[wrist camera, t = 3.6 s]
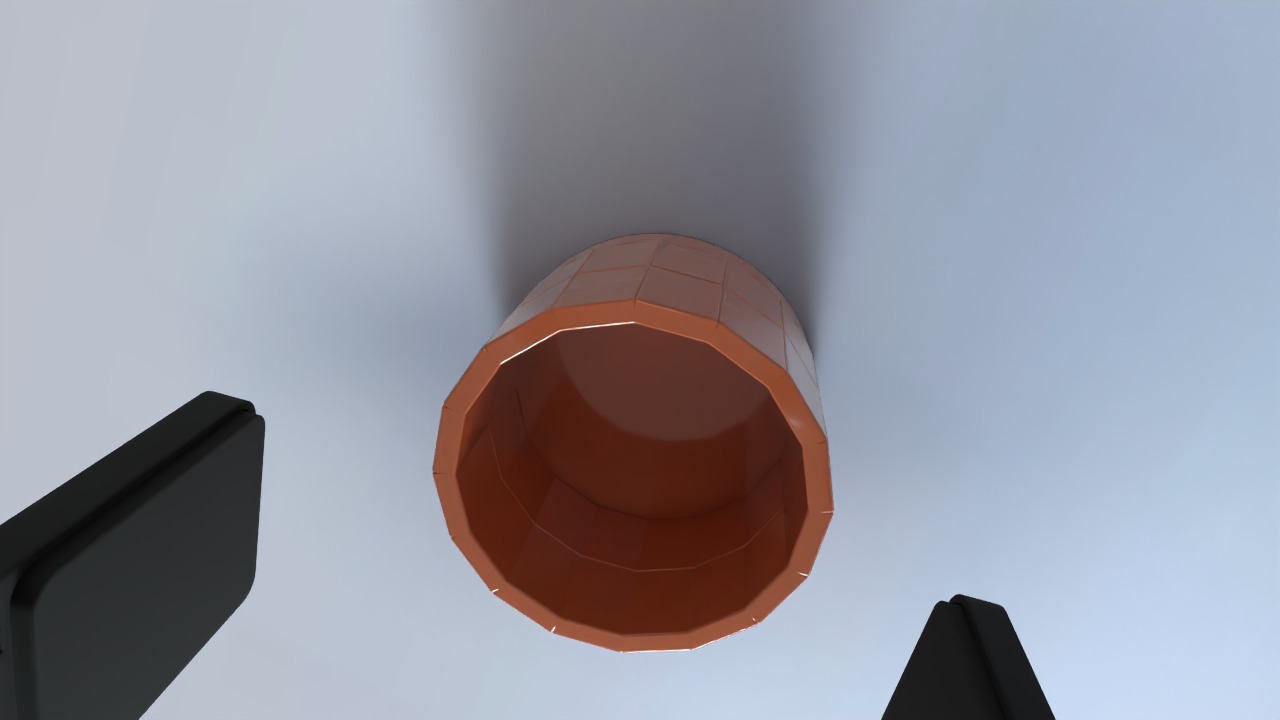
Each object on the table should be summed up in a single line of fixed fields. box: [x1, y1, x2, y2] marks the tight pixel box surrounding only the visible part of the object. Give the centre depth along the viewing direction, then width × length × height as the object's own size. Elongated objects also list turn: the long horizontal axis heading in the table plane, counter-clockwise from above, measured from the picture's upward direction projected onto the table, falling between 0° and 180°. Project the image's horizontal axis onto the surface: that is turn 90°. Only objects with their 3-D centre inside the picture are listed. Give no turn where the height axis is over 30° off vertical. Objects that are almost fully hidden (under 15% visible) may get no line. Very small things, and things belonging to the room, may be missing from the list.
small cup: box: [432, 233, 834, 653], centre depth 15 cm, size 6×6×4 cm
